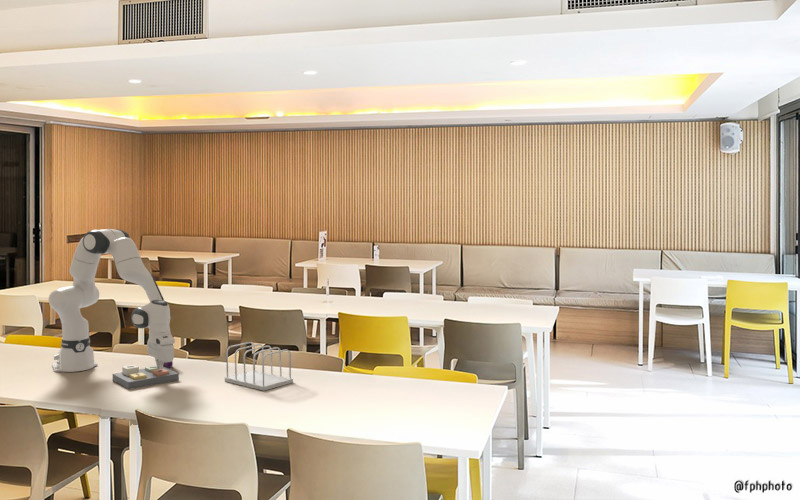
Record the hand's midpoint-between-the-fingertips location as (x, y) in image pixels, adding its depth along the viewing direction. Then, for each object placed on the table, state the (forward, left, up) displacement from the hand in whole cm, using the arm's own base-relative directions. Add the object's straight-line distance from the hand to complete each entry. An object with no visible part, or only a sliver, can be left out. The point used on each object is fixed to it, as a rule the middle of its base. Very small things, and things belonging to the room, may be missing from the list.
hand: (159, 368), depth 297 cm
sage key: (-8, 0, -4) cm, 9 cm away
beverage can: (-21, +11, -5) cm, 24 cm away
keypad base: (-4, -5, -5) cm, 8 cm away
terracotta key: (0, 0, -4) cm, 4 cm away
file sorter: (+31, +31, -6) cm, 44 cm away
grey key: (-8, -10, -2) cm, 13 cm away
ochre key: (0, -10, -4) cm, 11 cm away
